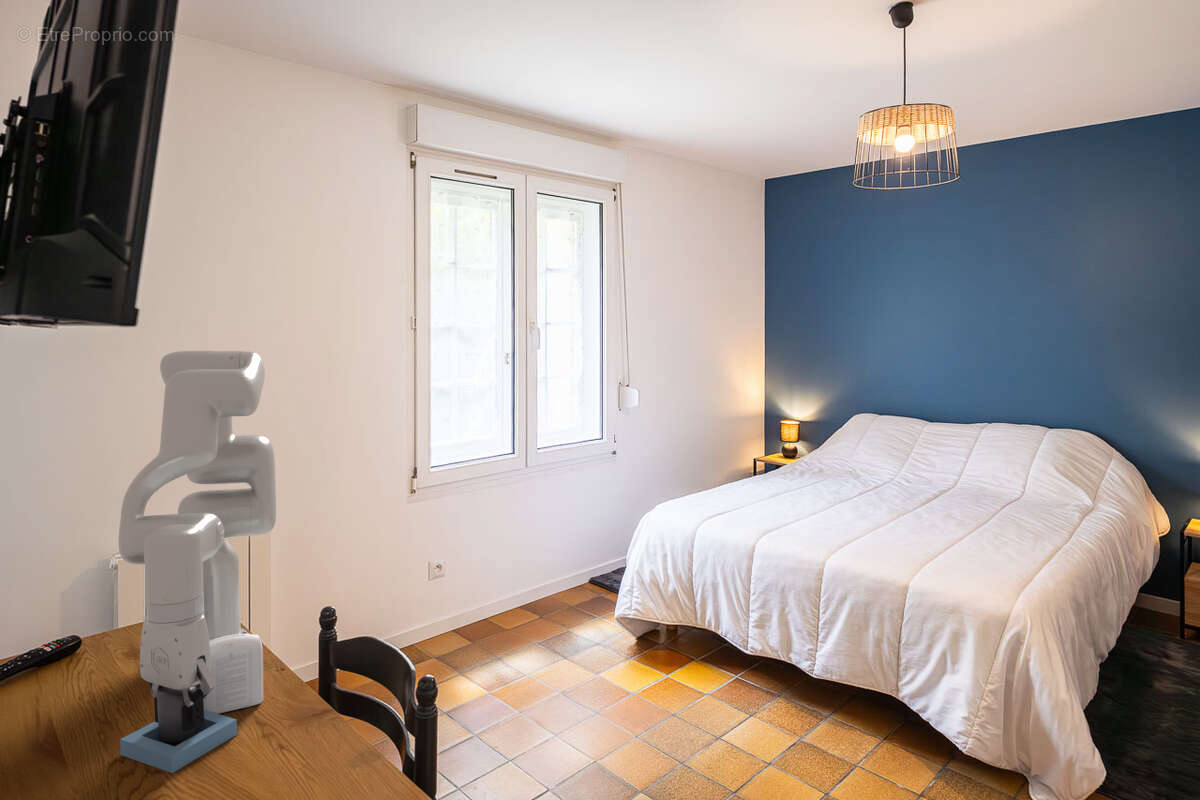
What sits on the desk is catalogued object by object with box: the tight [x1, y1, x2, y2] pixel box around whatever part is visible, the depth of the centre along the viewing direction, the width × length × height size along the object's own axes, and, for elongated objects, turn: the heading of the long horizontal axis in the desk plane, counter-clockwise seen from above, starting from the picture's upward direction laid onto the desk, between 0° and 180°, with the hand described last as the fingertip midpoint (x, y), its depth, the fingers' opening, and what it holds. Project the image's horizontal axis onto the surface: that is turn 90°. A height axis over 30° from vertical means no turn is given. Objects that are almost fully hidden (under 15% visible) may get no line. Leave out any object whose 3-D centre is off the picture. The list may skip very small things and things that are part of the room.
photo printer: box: [203, 633, 264, 714], centre depth 121 cm, size 10×4×12 cm, turn 123°
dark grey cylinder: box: [157, 686, 200, 744], centre depth 110 cm, size 6×6×7 cm
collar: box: [119, 710, 238, 774], centre depth 110 cm, size 11×11×2 cm
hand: (179, 721), depth 110 cm, fingers closed on dark grey cylinder, 5 cm apart
